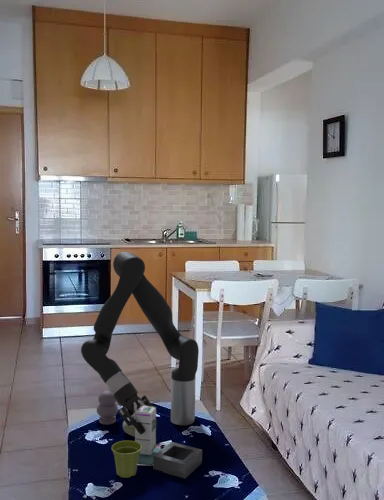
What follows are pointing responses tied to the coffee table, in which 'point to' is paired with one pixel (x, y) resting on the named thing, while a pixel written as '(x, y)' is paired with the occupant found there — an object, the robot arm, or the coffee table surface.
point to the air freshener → (129, 428)
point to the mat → (148, 457)
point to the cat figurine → (107, 408)
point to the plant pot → (126, 457)
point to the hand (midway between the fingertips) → (149, 428)
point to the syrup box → (149, 423)
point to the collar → (177, 459)
